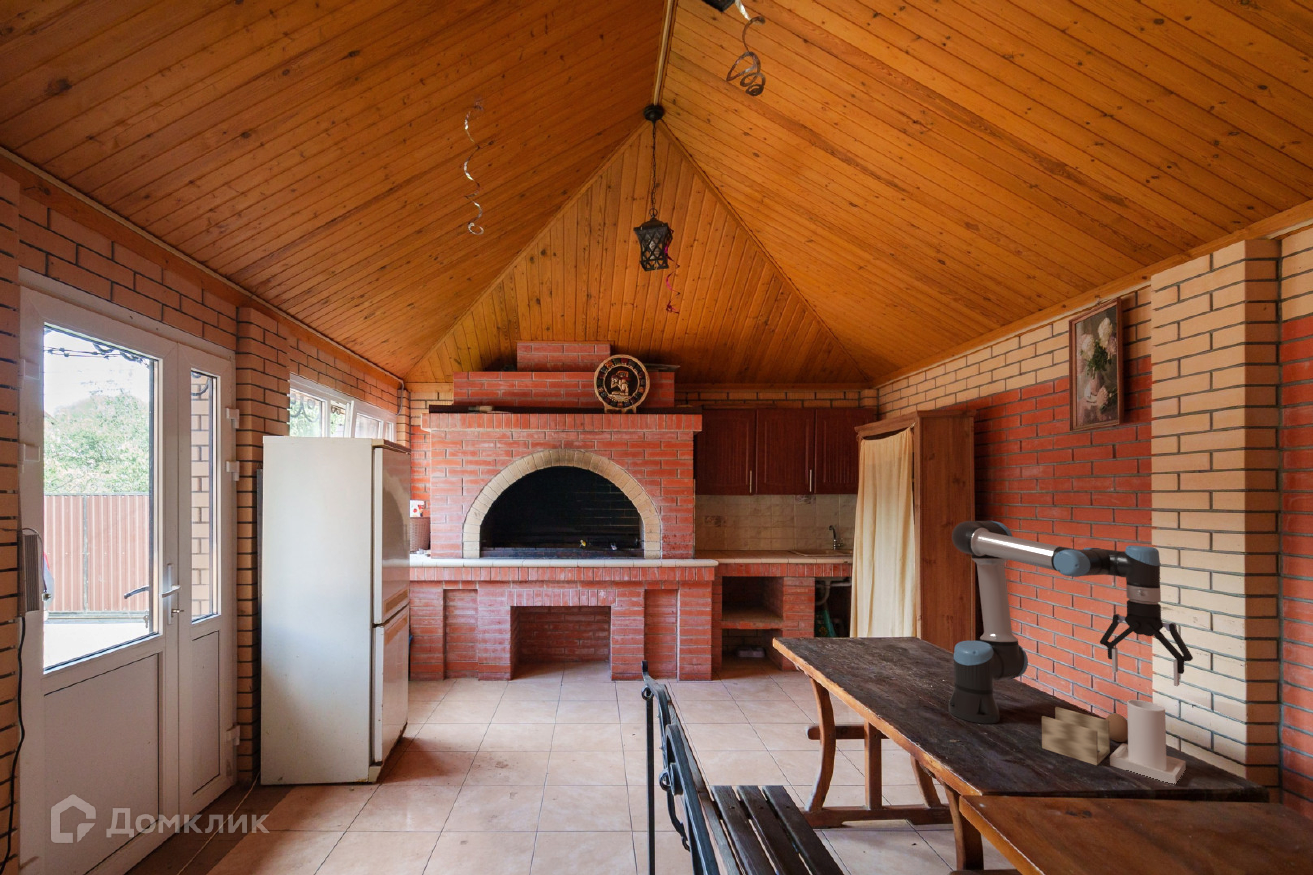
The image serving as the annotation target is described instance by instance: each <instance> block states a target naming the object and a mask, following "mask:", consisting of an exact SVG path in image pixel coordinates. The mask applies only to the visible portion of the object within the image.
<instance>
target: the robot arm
mask: <svg viewBox="0 0 1313 875" xmlns="http://www.w3.org/2000/svg"><path fill="white" fill-rule="evenodd" d="M951 541H952V544H953V546H955V548H956V549H957V550H958V551H959V552H961V553H963V554H967V555H971V560H972V561H973V562H974V563H975V564H976V567H977V576H978V577H977V578H978V586H979V597H980V604H981V614H982V622H983V623H982V624H983V634H982V635H981V636H980V637H979V640H962V641H959V642H958V643H956V644H955V646H954V653H953V675H954V676H953V677H954V678H953V682H954V684H953V686H954V687H953V690H952V693H951V696H950V699H949V702H948V712H949V714H951V715H952V716H954V717H956V718H959V719H961V720H963V721H967V722H971V723H976V724H977V723H978V724H996V723H998V722H1000V711H999V707H998V704H997V701H996V699H995V696H994V682H997V681H1004V680H1007V681H1008V680H1014V679H1016V678H1019V677H1021V676H1022V675H1023V674H1025V673H1026V671H1027V669H1028V667H1029V659H1028V655H1027V653H1026V651H1025V650H1024V649H1023V647H1022V646H1021V645H1019V639H1018V637H1016V636H1015V635H1014V634H1013V631H1012V630H1013V629H1012V622H1011V614H1010V613H1011V612H1010V611H1011V610H1010V604H1009V595H1008V586H1007V577H1006V569H1005V568H1006V567H1005V564H1006V562H1007V561H1008V560H1009V561H1013V562H1016V563H1021V564H1025V565H1029V566H1034V567H1039V568H1042V569H1047V570H1051V571H1056V572H1058V573H1060V574H1061V575H1063V576H1066V577H1073V578H1079V577H1087V576H1088V577H1089V576H1113V577H1120V578H1125V581H1126V598H1127V599H1128V600H1126V616H1124V615H1120V614H1119V613H1116V614H1113V615H1112V622H1111V623H1110V625H1109V627H1108V628H1107V630H1106V631H1105V632H1104V634H1103V636H1102V637H1101V639H1100V640H1099V644H1100V645H1103V646H1105V647H1106V648H1107V658H1108V659H1109V660H1111V664H1112V665H1111V670H1112V671H1111V672H1112V673H1117V672H1119V659H1118V658H1119V657H1118V656H1119V654H1118V653H1119V652H1118V650H1119V649H1118V648H1117V647H1115V646H1116V645H1118V644H1119V643H1120V642H1122V641H1123V640H1124V639H1125V638H1127V637H1128V636H1129V635H1131V634H1132V633H1134V634H1136V635H1143V636H1146V637H1153V636H1154V637H1155V639H1157V641H1159V642H1160V643H1161V645H1162V646H1163V647H1164V648H1166V650H1167V652H1169V653H1170V654H1171V655H1172V656H1173V658H1175V659H1174V660H1173V687H1178V686H1180V674H1181V675H1183V674H1184V673H1185V662H1191V661H1192V660H1193V659H1194V658H1193V657H1194V656H1193V655H1192V654H1191V652H1190V650H1189V649H1188V646H1187V645H1186V643H1185V642H1184V639H1182V637H1181V635H1180V634H1179V632H1178V628H1177V624H1176V623H1175V622H1171V623H1170V622H1169V623H1168V622H1163V621H1162V606H1161V604H1160V603H1161V602H1162V601H1161V599H1162V598H1161V597H1162V596H1161V593H1162V592H1161V560H1160V552H1159V550H1158V548H1156V547H1153V546H1145V545H1127V546H1125V550H1113V549H1105V548H1100V547H1084V548H1083V549H1076V548H1070V547H1064V546H1061V545H1054V544H1050V543H1044V542H1040V541H1035V540H1030V539H1026V538H1021V537H1014V536H1013V534H1012V531H1011V530H1010V529H1009V527H1008V526H1006V525H1005V524H1004V523H1002V522H999V521H993V520H966V521H961V522H960V523H958V524H957V525H955V527H953V530H952V533H951ZM1123 622H1125V623H1126V624H1127V626H1128V627H1127V628H1126V629H1125V630H1124V631H1123V632H1121V633H1120V634H1119V635H1118V636H1117V637H1115V638H1114V639H1112V640H1111V641H1109V640H1110V638H1111V637H1112V635H1113V633H1114V632H1115V630H1116V629H1117V628H1118V626H1119V624H1121V623H1123ZM1163 628H1165V629H1166V631H1168V632H1169V634H1170V636H1171V637H1172V638H1173V640H1174V642H1175V644H1176V645H1177V647H1178V649H1179V650H1178V649H1177V648H1175V646H1174V645H1173V644H1172V643H1171V641H1169V640H1168V638H1167V637H1166V636H1165V635H1164V634H1163V632H1162V631H1161V630H1162V629H1163ZM1180 652H1181V653H1180Z"/></svg>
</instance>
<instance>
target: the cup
mask: <svg viewBox="0 0 1313 875" xmlns="http://www.w3.org/2000/svg"><path fill="white" fill-rule="evenodd" d="M1126 704H1127V706H1126V707H1127V708H1126V709H1127V722H1128V739H1127V744H1128V759H1129V761H1132V762H1135V763H1138V764H1142V765H1145V766H1148V767H1152V768H1155V769H1158V770H1162V771H1165V770H1166V769H1167V762H1166V756H1167V732H1166V731H1167V729H1166V728H1167V727H1166V724H1167V723H1166V708H1165V707H1164V706H1162V705H1160V704H1158V703H1154V702H1152V701H1147V700H1141V699H1128V700H1127V701H1126Z"/></svg>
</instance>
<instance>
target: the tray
mask: <svg viewBox="0 0 1313 875" xmlns="http://www.w3.org/2000/svg"><path fill="white" fill-rule="evenodd" d="M1166 762H1167V769H1166V770H1165V771H1162V770H1158V769H1155V768H1152V767H1148V766H1145V765H1142V764H1138V763H1135V762H1132V761H1129V759H1128V743H1124V742H1121V743H1120V745H1119V746H1118V747H1117V748H1116V749H1115V750H1114V752H1112V753H1111V754H1110V756H1109V765H1110V766H1111V767H1114V768H1117V769H1120V770H1124V771H1126V770H1129V771H1128V772H1130V771H1132V772H1131V773H1133V772H1135V773H1134V774H1136V773H1138V774H1137V775H1139V774H1141V775H1140V776H1142V775H1145V776H1144V777H1146V776H1148V777H1147V778H1149V777H1151V778H1150V779H1152V778H1154V779H1153V780H1155V779H1158V780H1160V781H1159V782H1162V781H1164V782H1163V783H1165V782H1168V783H1173V784H1174V783H1175V784H1176V783H1177V781H1178V780H1179V779H1180V780H1181V778H1182V777H1181V775H1182V776H1184V774H1185V772H1186V771H1185V770H1186V769H1187V767H1186V766H1187V765H1186V760H1183V759H1180V758H1176V757H1173V756H1169V755H1166ZM1184 771H1185V772H1184ZM1183 773H1184V774H1183ZM1180 777H1181V778H1180ZM1158 780H1157V781H1158ZM1180 780H1179V781H1180ZM1168 783H1167V784H1168ZM1177 784H1178V783H1177Z"/></svg>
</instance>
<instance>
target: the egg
mask: <svg viewBox="0 0 1313 875" xmlns="http://www.w3.org/2000/svg"><path fill="white" fill-rule="evenodd" d="M1105 720H1108V721H1109V736H1110V740H1113V741H1114V742H1116V743H1117V742H1118V743H1124V742H1126V741H1128V720H1127V719H1126V718H1125V717H1124V716H1123V715H1121V714H1119V713H1116V712H1115V713H1114V712H1112V713H1110V714H1109V715H1108V716H1107V717H1106V718H1105Z"/></svg>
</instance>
